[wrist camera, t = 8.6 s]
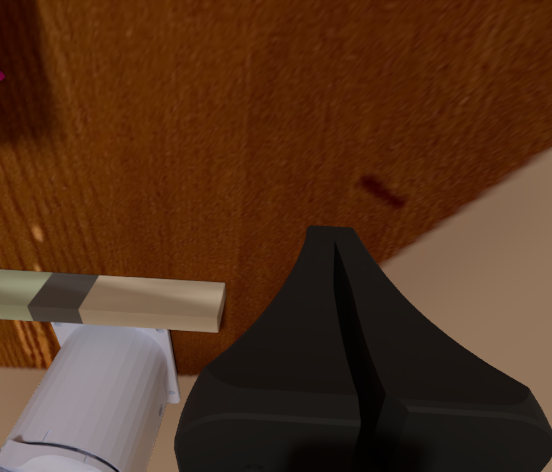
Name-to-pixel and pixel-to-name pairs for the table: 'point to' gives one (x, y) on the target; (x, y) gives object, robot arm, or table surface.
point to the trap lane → (111, 300)
